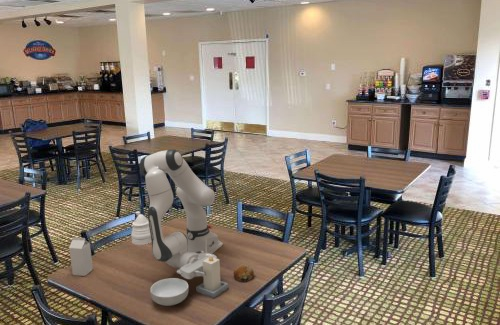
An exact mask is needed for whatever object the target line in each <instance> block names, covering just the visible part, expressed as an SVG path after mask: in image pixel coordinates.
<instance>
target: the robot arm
mask: <svg viewBox="0 0 500 325" xmlns="http://www.w3.org/2000/svg"><path fill="white" fill-rule="evenodd" d="M139 169H140V172H141V173H142V175H143V176H144V178H145V186H146V191H147V194H148V199H149V206H148V207H149V208H148V209H147V220H148V222H149V228H150V234H151V240H152V242H151V253H152V256H153V259H155V260H156V261H159V262H161V263H162V262H163V263H166V264H167V265H169V266H170V267H173V268H175V269H176V274H179V275H180V276H181V277H183V279H186V280H192V279H194V278H195V277H204V276H206V272H204V271H203V261H204V260H205V259H207V258H209V257H213V258H216V259H218V257H217V255H215V254H214V253H215V252H216V251H218V249H220V248H221V247H222V246H223V245H224V243H223V242H222V241H220V240H219V236H218V235H217V234H216V233H214V232H213V231H211V229H213V227H214V226H213V225H211V224H208V220H207V218H208V217H207V212H206V210H205V209H204V208H203V207H209V206H212V205H213V203H214V202H215V199H216V193H215V191H214V190H213V189H212V188H211V187H209V186H208V185H206V184H205V183H204V182H203V180H201V179H200V178H199V177H198V176H197V175H196V174H195V173H194V172H193V170H192V169H191V167H190V166H189V164H188V162H187V161H186V160H185V159H184V157H183V156H182V153H181V152H180V151H179V150H177V149H176V148H172V149H166V150H162V151H161V150H160V151H157V152H155V153H151V154H148V155H145V156H144V157H141V159H140V161H139ZM167 175H168V176H169V177H170V179H171V180H172V181H173V183H174V184H175V186H177V187H176V193H175V194H176V196H177V198H179V200H180V202H181V204H182V206H183V209H184V212H185V217H186V218H185V219H186V234H185V233H184V232H183V231H179V230H175V231H174V232H172V233H170V234H168V235H167V236H165V237H164V232H163V228H162V220H163V218H164V216H165V214H166V213H167V212H168V210H169V209H170V208H171V207H172V205H173V203H174V192H173V190H172V187H171V183H170V182H169V179H168V178H167Z"/></svg>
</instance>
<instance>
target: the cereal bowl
mask: <svg viewBox="0 0 500 325" xmlns="http://www.w3.org/2000/svg"><path fill="white" fill-rule="evenodd" d="M149 290H150V296H151V300H153V302H154V303H156V304H157V305H160V306H167V307H171V306H175V305H178V304H180V303H182V302H183V301H184V300H186V298H187V297H188V295H189V284H188V282H187V280H185V279H182V278H178V277H169V278H164V279H163V278H162V279H160V280H158V281H156V282H154V283H153V284H152V285H151V287H150V288H149Z"/></svg>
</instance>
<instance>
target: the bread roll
mask: <svg viewBox="0 0 500 325" xmlns="http://www.w3.org/2000/svg"><path fill="white" fill-rule="evenodd" d="M254 273H255V272H254V269H253V268H252V267H251V266H249V265H247V264H239V265H238V266H236V267H235V268H234V271H233V278H234V280H235V281H237V282H241V281H242V282H243V283H244V282H248V280H249V281H251V280H252V279H253V278H254V276H255V274H254Z"/></svg>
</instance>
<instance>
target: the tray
mask: <svg viewBox="0 0 500 325" xmlns="http://www.w3.org/2000/svg"><path fill="white" fill-rule="evenodd" d="M220 281H221V280H220ZM195 289H196V292H197V293H199V294H201V295H204V296H206V297H209V298H211V299H216V298H217V297H218V296H219V295H221V294H222V293H224V292H226V291H227V290H228V289H229V283H227V282H225V281H221V287H220V288H218V289H217V290H215V291H214V292H212V291H210V290H207V289H204V281H203V282H201V283H200V284H199V285H197V286H196V288H195Z"/></svg>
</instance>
